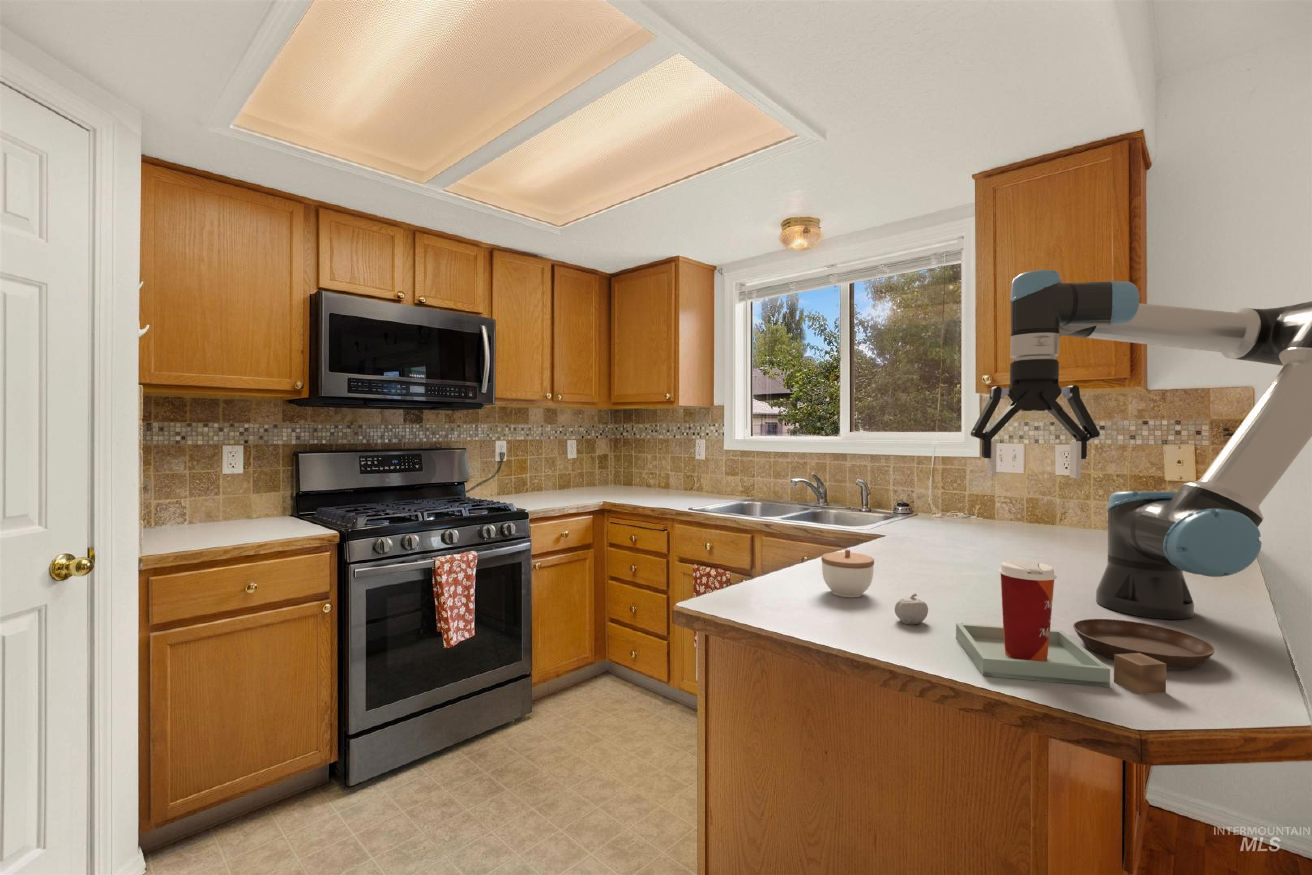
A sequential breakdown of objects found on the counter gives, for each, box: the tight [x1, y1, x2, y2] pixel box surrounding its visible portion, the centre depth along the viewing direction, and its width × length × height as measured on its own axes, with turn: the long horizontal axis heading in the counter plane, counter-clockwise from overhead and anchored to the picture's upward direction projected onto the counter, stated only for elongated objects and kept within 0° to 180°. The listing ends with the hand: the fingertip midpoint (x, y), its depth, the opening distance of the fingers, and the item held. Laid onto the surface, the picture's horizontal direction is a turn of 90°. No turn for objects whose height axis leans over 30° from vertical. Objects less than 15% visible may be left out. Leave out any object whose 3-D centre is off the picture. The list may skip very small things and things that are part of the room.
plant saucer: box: [1072, 618, 1216, 670], centre depth 98 cm, size 18×18×3 cm
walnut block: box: [1113, 653, 1167, 695], centre depth 85 cm, size 4×4×4 cm
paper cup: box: [997, 560, 1058, 662], centre depth 95 cm, size 8×8×14 cm
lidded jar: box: [820, 548, 875, 598], centre depth 131 cm, size 11×11×9 cm
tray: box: [955, 622, 1111, 688], centre depth 95 cm, size 16×16×2 cm
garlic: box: [894, 593, 929, 625], centre depth 113 cm, size 6×5×5 cm
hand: (1032, 477), depth 112 cm, fingers open, 13 cm apart
